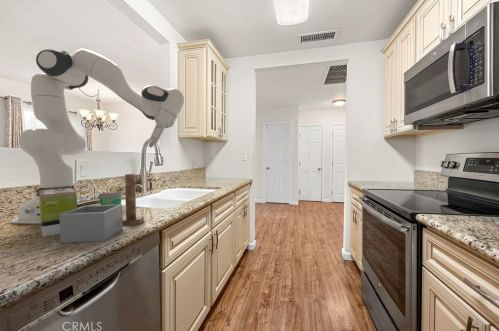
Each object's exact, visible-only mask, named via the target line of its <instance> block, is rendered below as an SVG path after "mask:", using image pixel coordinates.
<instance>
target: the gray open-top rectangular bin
mask: <svg viewBox="0 0 499 331" xmlns="http://www.w3.org/2000/svg"><path fill="white" fill-rule="evenodd" d="M59 216H60V234H59V238H60V244H67V243H71V244H72V243H87V242H89V243H90V242H105V241H107V240H108V239H110V238H111V237H112V236H115V234H118V232H120V231H121V230H123V229H124V225H123V217H124V216H123V204H121V205H100V204H98V205H97V204H95V205H83V206H80V207H77V209H74V210H71V211H68V212H65V213H62V214H59Z"/></svg>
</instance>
